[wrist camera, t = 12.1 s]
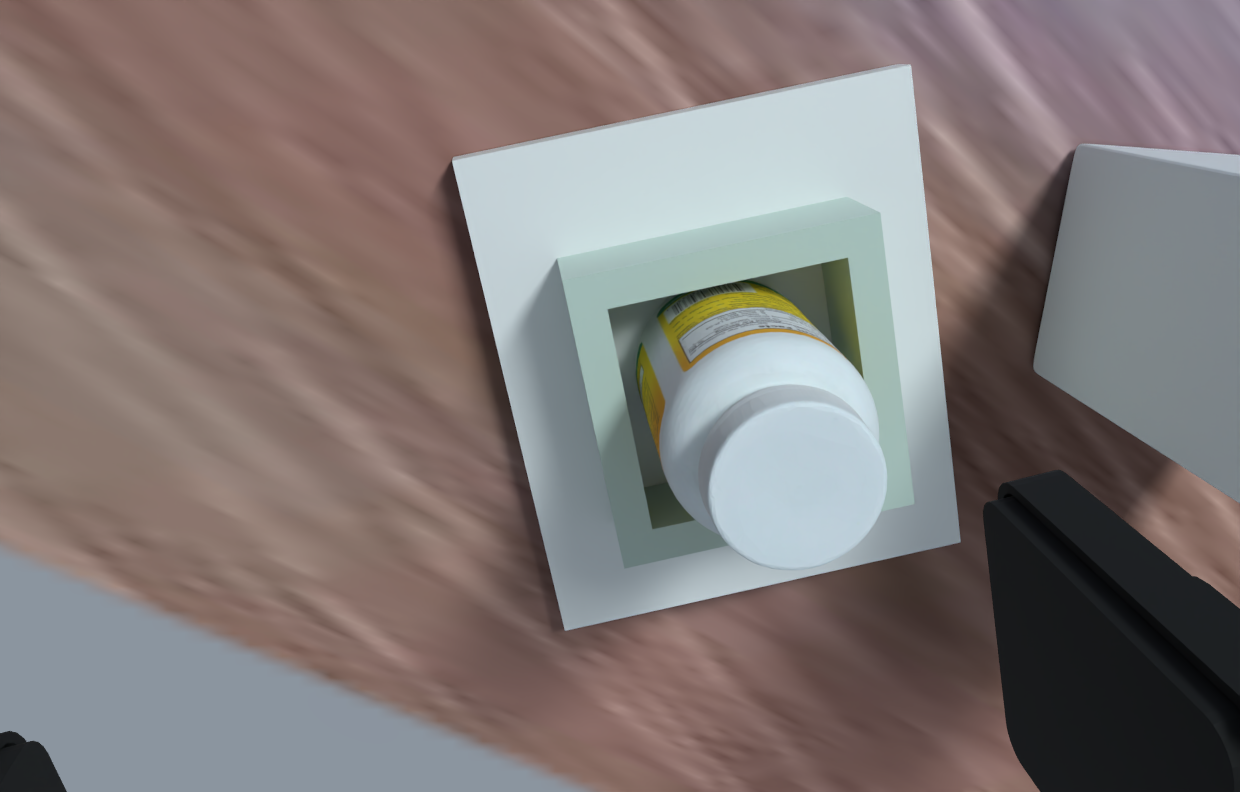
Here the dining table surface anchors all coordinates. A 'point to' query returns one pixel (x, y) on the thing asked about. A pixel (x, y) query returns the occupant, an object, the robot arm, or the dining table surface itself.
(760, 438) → the supplement bottle
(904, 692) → the dining table surface
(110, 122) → the dining table surface
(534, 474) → the cup holder
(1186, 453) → the milk carton
